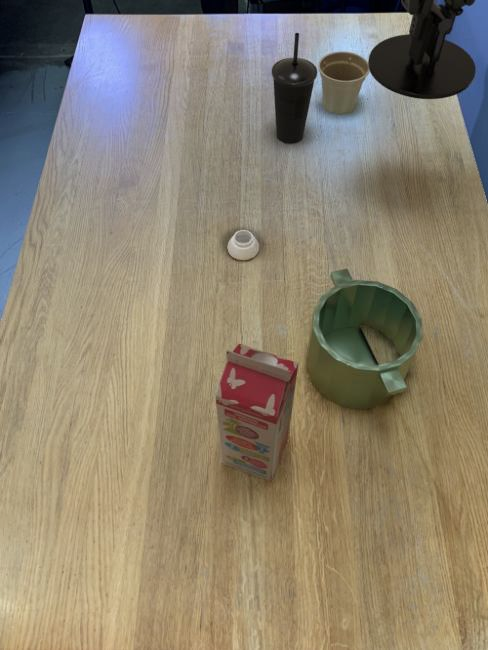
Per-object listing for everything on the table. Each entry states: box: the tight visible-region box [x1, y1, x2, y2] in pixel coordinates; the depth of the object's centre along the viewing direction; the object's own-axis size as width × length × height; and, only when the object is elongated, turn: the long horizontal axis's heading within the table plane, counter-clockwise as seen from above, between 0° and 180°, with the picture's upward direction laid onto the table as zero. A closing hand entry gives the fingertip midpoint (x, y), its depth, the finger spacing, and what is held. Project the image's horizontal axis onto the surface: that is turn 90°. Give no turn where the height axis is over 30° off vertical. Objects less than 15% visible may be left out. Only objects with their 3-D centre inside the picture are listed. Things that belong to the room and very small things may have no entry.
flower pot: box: [317, 50, 370, 115], centre depth 113 cm, size 9×9×9 cm
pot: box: [305, 268, 424, 410], centre depth 80 cm, size 14×19×10 cm
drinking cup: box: [271, 32, 318, 145], centre depth 103 cm, size 8×8×20 cm
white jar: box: [226, 229, 260, 261], centre depth 95 cm, size 5×3×5 cm
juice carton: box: [214, 343, 299, 483], centre depth 68 cm, size 7×7×22 cm
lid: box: [367, 0, 477, 100], centre depth 81 cm, size 15×15×9 cm
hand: (423, 57), depth 83 cm, fingers closed on lid, 2 cm apart
